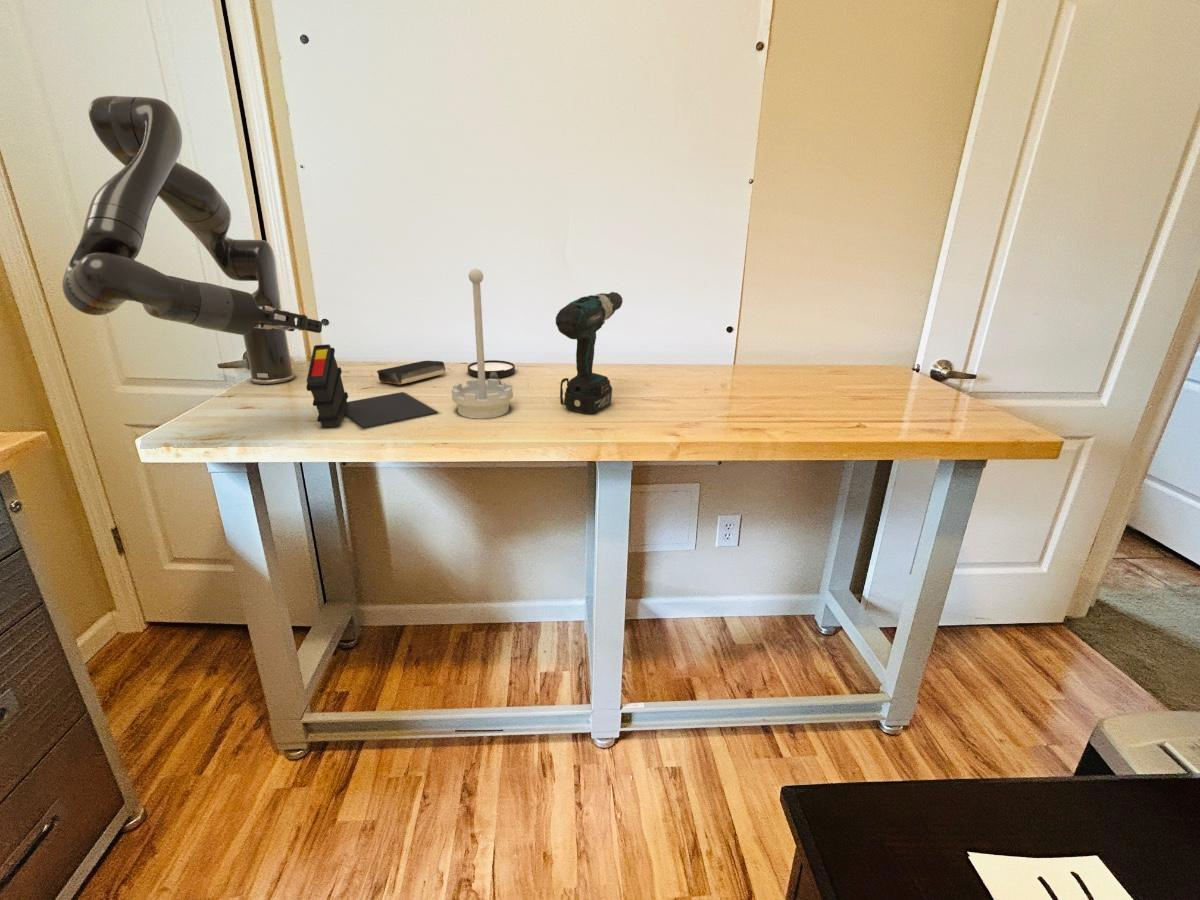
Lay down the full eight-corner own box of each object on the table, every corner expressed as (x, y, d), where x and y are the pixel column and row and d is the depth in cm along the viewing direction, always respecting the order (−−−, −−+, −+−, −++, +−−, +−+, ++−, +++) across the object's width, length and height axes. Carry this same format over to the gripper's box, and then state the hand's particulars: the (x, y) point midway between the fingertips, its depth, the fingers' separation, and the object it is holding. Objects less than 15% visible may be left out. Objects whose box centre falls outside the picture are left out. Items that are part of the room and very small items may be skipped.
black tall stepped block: (352, 396, 133) (332, 343, 121) (345, 441, 125) (323, 388, 113) (334, 397, 132) (312, 344, 121) (326, 442, 124) (302, 390, 113)
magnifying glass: (471, 392, 145) (470, 384, 144) (466, 367, 166) (466, 360, 165) (523, 390, 148) (523, 381, 147) (512, 365, 169) (512, 358, 168)
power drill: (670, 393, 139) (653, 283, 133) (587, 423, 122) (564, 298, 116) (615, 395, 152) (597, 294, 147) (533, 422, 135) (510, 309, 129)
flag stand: (514, 419, 128) (508, 272, 117) (451, 420, 126) (439, 272, 115) (512, 400, 140) (508, 265, 129) (455, 401, 138) (445, 265, 127)
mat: (333, 406, 134) (333, 404, 133) (403, 393, 143) (402, 391, 143) (363, 428, 121) (363, 426, 121) (437, 413, 131) (437, 411, 130)
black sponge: (396, 389, 146) (395, 374, 145) (375, 382, 151) (373, 368, 149) (449, 376, 158) (448, 362, 157) (428, 370, 163) (427, 357, 162)
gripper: (244, 286, 99) (332, 307, 113) (198, 286, 106) (287, 306, 120) (240, 332, 99) (328, 348, 113) (195, 329, 106) (283, 344, 120)
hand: (307, 326), depth 116 cm, fingers open, 8 cm apart
